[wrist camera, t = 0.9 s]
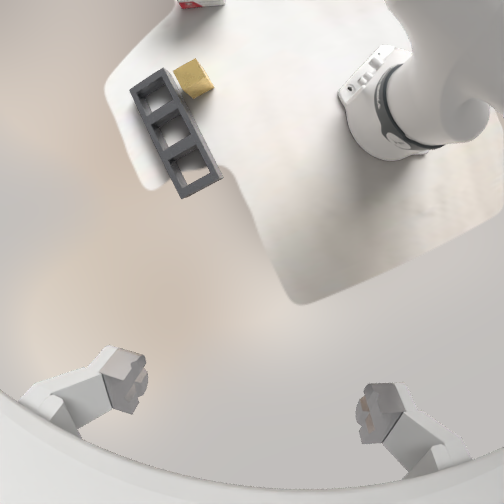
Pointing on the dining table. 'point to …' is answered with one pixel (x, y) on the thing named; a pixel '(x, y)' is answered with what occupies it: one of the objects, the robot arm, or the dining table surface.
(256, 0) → the dining table surface
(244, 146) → the dining table surface
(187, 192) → the grey compartment tray
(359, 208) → the dining table surface
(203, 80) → the brushed brass bar
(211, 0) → the ink box
